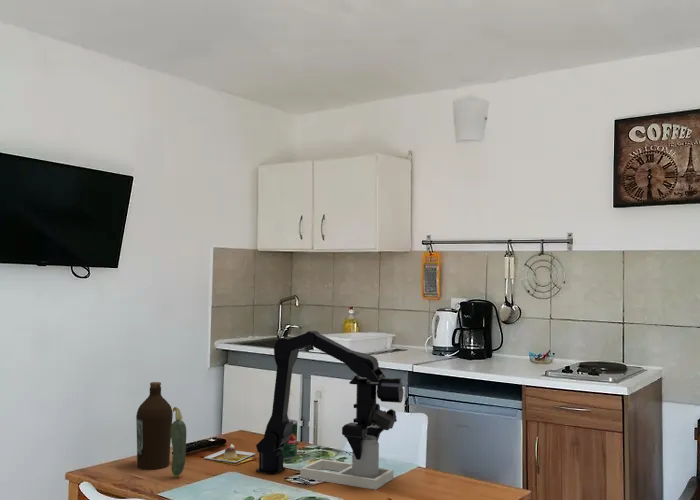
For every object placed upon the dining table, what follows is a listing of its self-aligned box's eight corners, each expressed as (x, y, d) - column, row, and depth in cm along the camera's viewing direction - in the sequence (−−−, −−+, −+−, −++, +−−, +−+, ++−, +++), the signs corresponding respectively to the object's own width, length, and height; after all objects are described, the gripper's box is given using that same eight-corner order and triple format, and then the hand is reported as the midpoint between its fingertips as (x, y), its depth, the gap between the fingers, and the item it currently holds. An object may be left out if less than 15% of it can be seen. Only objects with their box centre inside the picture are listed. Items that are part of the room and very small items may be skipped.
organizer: (300, 477, 192) (300, 468, 192) (321, 467, 203) (321, 459, 203) (375, 489, 181) (375, 480, 181) (393, 478, 192) (393, 469, 192)
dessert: (203, 461, 210) (203, 445, 211) (224, 452, 221) (225, 438, 222) (235, 465, 206) (236, 449, 206) (256, 456, 217) (256, 441, 217)
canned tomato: (295, 459, 212) (296, 424, 212) (271, 458, 212) (271, 423, 213) (298, 453, 220) (298, 419, 220) (274, 452, 220) (274, 419, 220)
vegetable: (188, 476, 191) (189, 406, 192) (179, 480, 187) (181, 408, 188) (174, 475, 193) (176, 405, 194) (166, 479, 189) (168, 407, 190)
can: (379, 476, 193) (379, 434, 193) (377, 484, 185) (378, 440, 186) (353, 475, 193) (353, 433, 194) (351, 483, 186) (351, 439, 186)
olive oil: (168, 460, 209) (170, 379, 210) (173, 468, 199) (175, 384, 201) (133, 463, 205) (135, 381, 206) (136, 472, 195) (139, 386, 197)
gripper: (378, 408, 178) (377, 467, 178) (405, 398, 195) (404, 452, 194) (341, 404, 183) (340, 461, 183) (370, 395, 200) (370, 447, 199)
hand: (365, 455), depth 189 cm, fingers open, 9 cm apart
